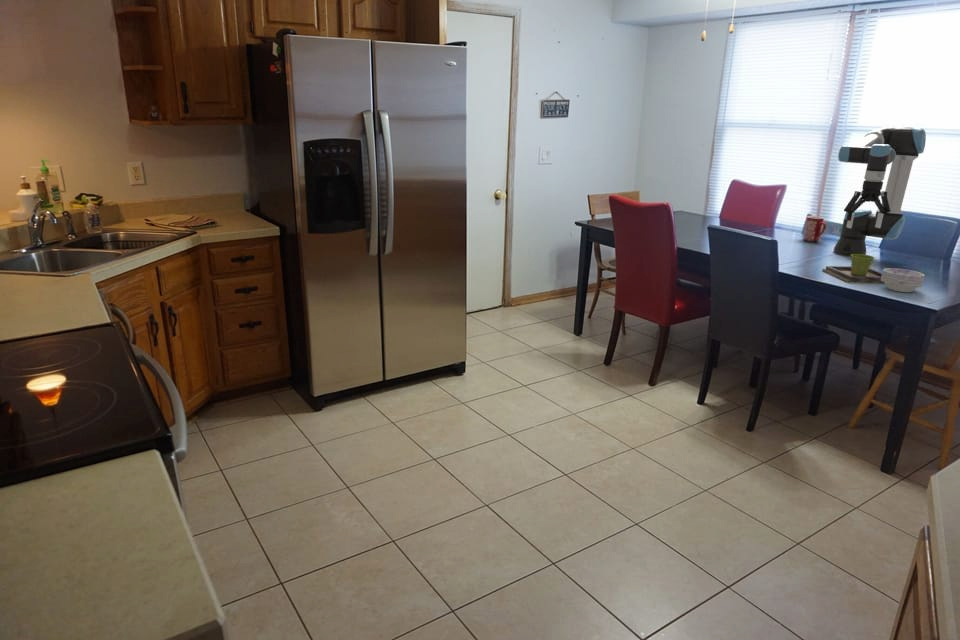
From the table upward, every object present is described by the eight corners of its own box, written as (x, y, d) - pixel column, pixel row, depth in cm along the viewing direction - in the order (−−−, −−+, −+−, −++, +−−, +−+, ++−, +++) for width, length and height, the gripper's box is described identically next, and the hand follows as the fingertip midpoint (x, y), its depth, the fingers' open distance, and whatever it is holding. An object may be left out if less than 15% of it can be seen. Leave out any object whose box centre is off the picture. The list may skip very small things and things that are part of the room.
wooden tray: (867, 271, 299) (868, 266, 298) (895, 283, 280) (896, 277, 280) (822, 270, 298) (823, 265, 297) (846, 282, 279) (848, 276, 279)
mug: (798, 239, 371) (803, 215, 366) (812, 238, 373) (816, 215, 368) (814, 243, 359) (819, 219, 355) (827, 243, 361) (832, 219, 357)
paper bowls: (904, 284, 278) (908, 267, 276) (929, 295, 264) (934, 276, 261) (870, 284, 278) (875, 266, 275) (893, 294, 263) (898, 276, 261)
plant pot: (843, 271, 294) (847, 253, 291) (864, 272, 293) (869, 254, 290) (851, 276, 285) (856, 257, 282) (873, 278, 284) (878, 259, 281)
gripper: (851, 181, 278) (841, 229, 285) (906, 181, 279) (895, 229, 286) (841, 179, 285) (832, 225, 292) (895, 179, 286) (884, 225, 293)
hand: (863, 227), depth 289 cm, fingers open, 13 cm apart
